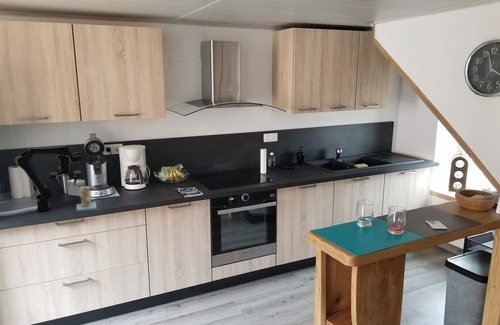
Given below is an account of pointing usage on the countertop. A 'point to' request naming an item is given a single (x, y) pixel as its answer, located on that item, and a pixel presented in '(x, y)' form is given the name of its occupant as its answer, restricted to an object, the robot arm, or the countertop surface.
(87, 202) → the beech block
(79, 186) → the light bulb box
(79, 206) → the teal pad
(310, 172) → the countertop surface
